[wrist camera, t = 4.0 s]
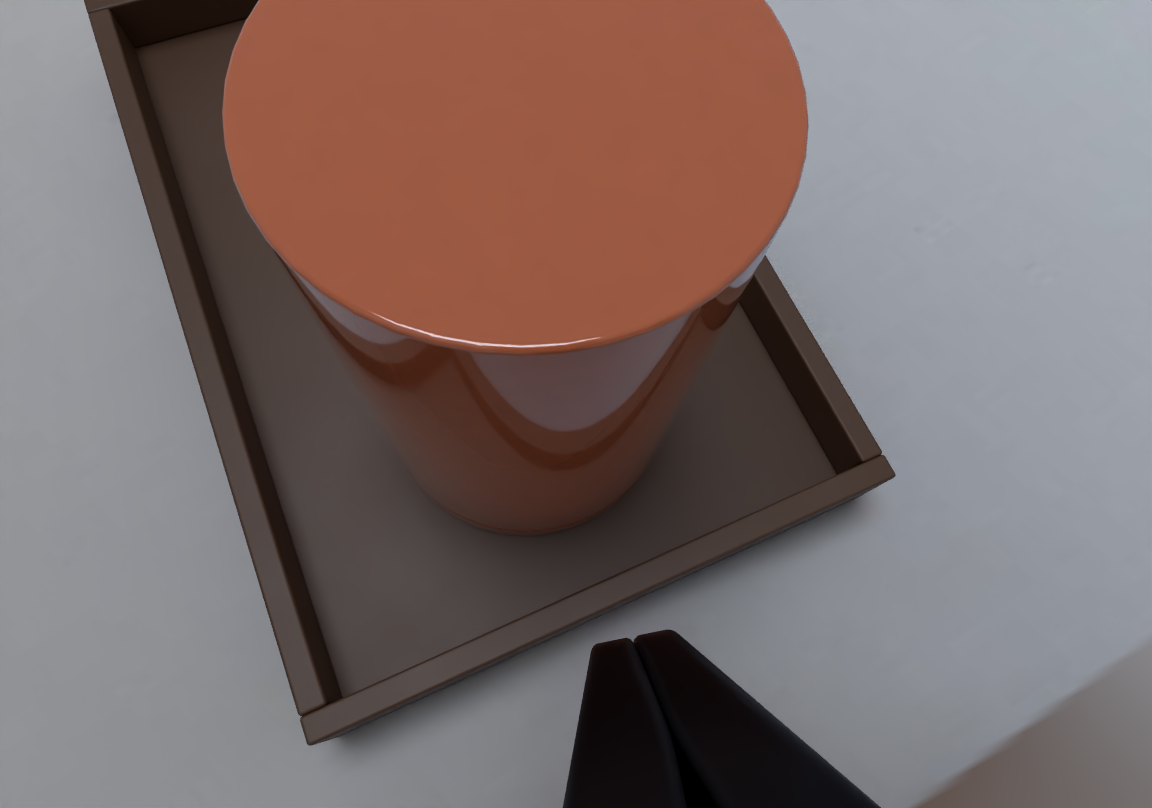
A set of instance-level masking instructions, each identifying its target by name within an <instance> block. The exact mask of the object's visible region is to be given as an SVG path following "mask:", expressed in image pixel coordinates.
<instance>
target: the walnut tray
mask: <svg viewBox="0 0 1152 808" xmlns="http://www.w3.org/2000/svg"><path fill="white" fill-rule="evenodd" d="M84 2H85V6H86V9H87V12H88V14H89V19H90V22H91V26H92V29H93V32H94V36H95V39H96V42H97V46H98V49H99V52H100V56H101V59H102V62H103V66H104V69H105V72H106V76H107V79H108V82H109V86H110V89H111V92H112V96H113V99H114V102H115V106H116V109H117V112H118V116H119V119H120V122H121V126H122V129H123V132H124V136H125V139H126V142H127V146H128V149H129V152H130V155H131V159H132V162H133V165H134V169H135V172H136V175H137V179H138V182H139V185H140V189H141V192H142V195H143V199H144V202H145V205H146V209H147V212H148V215H149V219H150V222H151V225H152V229H153V232H154V235H155V239H156V242H157V245H158V249H159V252H160V255H161V259H162V262H163V265H164V269H165V272H166V275H167V279H168V282H169V285H170V289H171V292H172V295H173V299H174V302H175V305H176V309H177V312H178V315H179V319H180V322H181V325H182V329H183V332H184V335H185V339H186V342H187V345H188V349H189V352H190V355H191V359H192V362H193V365H194V369H195V372H196V375H197V378H198V382H199V385H200V388H201V392H202V395H203V398H204V402H205V405H206V408H207V412H208V415H209V418H210V422H211V425H212V428H213V432H214V435H215V438H216V442H217V445H218V448H219V452H220V455H221V458H222V462H223V465H224V468H225V472H226V475H227V478H228V482H229V485H230V488H231V492H232V495H233V498H234V502H235V505H236V508H237V512H238V515H239V518H240V522H241V525H242V528H243V532H244V535H245V538H246V542H247V545H248V548H249V552H250V555H251V558H252V562H253V565H254V568H255V572H256V575H257V578H258V582H259V585H260V588H261V592H262V595H263V598H264V601H265V605H266V608H267V611H268V615H269V618H270V621H271V625H272V628H273V631H274V635H275V638H276V641H277V645H278V648H279V651H280V655H281V658H282V661H283V665H284V668H285V671H286V675H287V678H288V681H289V685H290V688H291V691H292V695H293V698H294V701H295V705H296V708H297V711H298V714H299V715H300V716H302V717H301V719H300V721H301V725H302V728H303V731H304V735H305V738H306V741H307V744H308V745H314V744H317V743H321V742H324V741H327V740H330V739H333V738H336V737H339V736H341V735H343V734H345V733H347V732H350V731H352V730H354V729H356V728H358V727H360V726H363V725H365V724H367V723H369V722H371V721H373V720H376V719H378V718H380V717H382V716H384V715H387V714H389V713H391V712H393V711H395V710H397V709H400V708H402V707H404V706H406V705H408V704H410V703H413V702H415V701H417V700H419V699H421V698H423V697H426V696H428V695H430V694H432V693H434V692H436V691H439V690H441V689H443V688H445V687H447V686H449V685H452V684H454V683H456V682H458V681H460V680H462V679H465V678H467V677H469V676H471V675H473V674H475V673H478V672H480V671H482V670H484V669H486V668H488V667H491V666H493V665H495V664H497V663H499V662H501V661H504V660H506V659H508V658H510V657H512V656H514V655H517V654H519V653H521V652H523V651H525V650H528V649H530V648H532V647H534V646H536V645H538V644H541V643H543V642H545V641H547V640H549V639H551V638H554V637H556V636H558V635H560V634H562V633H564V632H567V631H569V630H571V629H573V628H575V627H577V626H580V625H582V624H584V623H586V622H588V621H590V620H593V619H595V618H597V617H599V616H601V615H603V614H606V613H608V612H610V611H612V610H614V609H616V608H619V607H621V606H623V605H625V604H627V603H629V602H632V601H634V600H636V599H638V598H640V597H642V596H645V595H647V594H649V593H651V592H653V591H655V590H658V589H660V588H662V587H664V586H666V585H669V584H671V583H673V582H675V581H677V580H679V579H682V578H684V577H686V576H688V575H690V574H692V573H695V572H697V571H699V570H701V569H703V568H705V567H708V566H710V565H712V564H714V563H716V562H718V561H721V560H723V559H725V558H727V557H729V556H731V555H734V554H736V553H738V552H740V551H742V550H744V549H747V548H749V547H751V546H753V545H755V544H757V543H760V542H762V541H764V540H766V539H768V538H770V537H773V536H775V535H777V534H779V533H781V532H783V531H786V530H788V529H790V528H792V527H794V526H796V525H799V524H801V523H803V522H805V521H807V520H810V519H812V518H814V517H816V516H818V515H820V514H823V513H825V512H827V511H829V510H831V509H833V508H836V507H838V506H840V505H842V504H844V503H846V502H849V501H851V500H853V499H855V498H857V497H859V496H861V495H863V494H864V493H866V492H868V491H870V490H872V489H874V488H875V487H877V486H879V485H881V484H883V483H885V482H887V481H888V480H890V479H892V478H894V477H895V473H894V471H893V469H892V468H891V466H890V464H889V463H888V461H887V459H886V457H885V456H884V455H881V454H882V451H881V449H880V447H879V446H878V444H877V442H876V441H875V439H874V437H873V436H872V434H871V432H870V431H869V429H868V427H867V426H866V424H865V422H864V421H863V419H862V417H861V415H860V414H859V412H858V410H857V409H856V407H855V405H854V404H853V402H852V400H851V399H850V397H849V395H848V394H847V392H846V390H845V389H844V387H843V385H842V384H841V382H840V380H839V378H838V377H837V375H836V373H835V372H834V370H833V368H832V367H831V365H830V363H829V362H828V360H827V358H826V357H825V355H824V353H823V352H822V350H821V348H820V346H819V345H818V343H817V341H816V340H815V338H814V336H813V335H812V333H811V331H810V330H809V328H808V326H807V325H806V323H805V321H804V320H803V318H802V316H801V314H800V313H799V311H798V309H797V308H796V306H795V304H794V303H793V301H792V299H791V298H790V296H789V294H788V293H787V291H786V289H785V288H784V286H783V284H782V282H781V281H780V279H779V277H778V276H777V274H776V272H775V271H774V269H773V267H772V266H771V264H770V262H769V261H768V259H767V257H766V256H765V255H764V257H763V259H762V261H761V263H760V264H759V266H758V268H757V270H756V272H755V274H754V275H753V277H752V279H751V281H750V283H749V284H748V286H747V288H746V290H745V292H744V293H743V295H742V297H741V299H740V301H739V302H738V304H737V306H736V308H735V310H734V311H733V313H732V315H731V317H730V319H729V320H728V322H727V324H726V326H725V328H724V329H723V331H722V333H721V335H720V337H719V338H718V340H717V342H716V344H715V346H714V347H713V349H712V351H711V353H710V355H709V356H708V358H707V360H706V362H705V364H704V365H703V367H702V369H701V371H700V373H699V374H698V376H697V378H696V380H695V382H694V383H693V385H692V387H691V389H690V391H689V392H688V394H687V396H686V398H685V400H684V401H683V403H682V405H681V407H680V409H679V410H678V412H677V414H676V416H675V418H674V420H673V421H672V423H671V425H670V427H669V429H668V430H667V432H666V434H665V436H664V438H663V439H662V441H661V443H660V445H659V447H658V448H657V450H656V452H655V454H654V456H653V457H652V459H651V461H650V463H649V465H648V466H647V468H646V469H645V471H644V473H643V474H642V476H641V477H640V479H639V480H638V482H637V483H636V484H635V485H634V486H633V488H632V489H631V490H630V491H629V493H628V494H627V495H625V496H624V497H623V498H622V499H621V500H620V501H619V502H618V503H617V504H616V505H615V506H613V507H612V508H610V509H609V510H607V511H606V512H605V513H603V514H602V515H600V516H599V517H597V518H595V519H593V520H591V521H589V522H587V523H585V524H583V525H580V526H577V527H575V528H572V529H569V530H566V531H562V532H557V533H553V534H548V535H538V536H512V535H504V534H499V533H493V532H489V531H486V530H483V529H480V528H477V527H474V526H471V525H469V524H467V523H465V522H463V521H461V520H459V519H456V518H455V517H453V516H452V515H450V514H449V513H447V512H446V511H444V510H442V509H441V508H440V507H438V506H437V505H436V504H435V503H434V502H433V501H432V500H430V499H429V498H428V497H427V496H426V495H425V494H424V493H423V492H422V490H421V489H420V488H419V487H418V486H417V485H416V483H415V482H414V481H413V479H412V478H411V476H410V475H409V473H408V472H407V470H406V468H405V467H404V465H403V464H402V462H401V460H400V459H399V457H398V455H397V454H396V452H395V451H394V449H393V447H392V446H391V444H390V443H389V441H388V439H387V438H386V436H385V434H384V433H383V431H382V430H381V428H380V426H379V425H378V423H377V421H376V420H375V418H374V417H373V415H372V413H371V412H370V410H369V408H368V407H367V405H366V404H365V402H364V400H363V399H362V397H361V395H360V394H359V392H358V391H357V389H356V387H355V386H354V384H353V382H352V381H351V379H350V378H349V376H348V374H347V373H346V371H345V369H344V368H343V366H342V365H341V363H340V361H339V360H338V358H337V356H336V355H335V353H334V352H333V350H332V348H331V347H330V345H329V344H328V342H327V340H326V339H325V337H324V335H323V334H322V332H321V331H320V329H319V327H318V326H317V324H316V322H315V321H314V319H313V318H312V316H311V314H310V313H309V311H308V309H307V308H306V306H305V305H304V303H303V301H302V300H301V298H300V296H299V295H298V293H297V292H296V290H295V288H294V287H293V285H292V283H291V282H290V280H289V279H288V277H287V275H286V274H285V272H284V270H283V269H282V267H281V266H280V264H279V262H278V261H277V259H276V258H275V256H274V254H273V253H272V251H271V249H270V248H269V246H268V245H267V243H266V241H265V240H264V238H263V236H262V235H261V233H260V232H259V230H258V228H257V227H256V225H255V223H254V222H253V220H252V219H251V217H250V215H249V214H248V212H247V210H246V208H245V206H244V203H243V201H242V199H241V197H240V194H239V192H238V190H237V188H236V185H235V183H234V181H233V178H232V174H231V170H230V166H229V162H228V158H227V155H226V151H225V145H224V133H223V121H222V109H223V97H224V86H225V78H226V74H227V71H228V67H229V63H230V59H231V55H232V51H233V48H234V46H235V44H236V42H237V39H238V37H239V35H240V32H241V30H242V28H243V25H244V23H245V21H246V20H247V18H248V16H249V15H250V13H251V12H252V10H253V8H254V7H255V5H256V4H257V2H258V0H84Z"/></svg>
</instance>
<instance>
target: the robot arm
mask: <svg viewBox="0 0 1152 808" xmlns="http://www.w3.org/2000/svg"><path fill="white" fill-rule="evenodd" d="M563 808H881V807H880V806H878V805H877V804H876V803H875V802H874V801H873V800H871V799H870V798H869V797H868V796H867V795H866V794H864V793H863V792H862V791H861V790H860V789H859V788H857V787H856V786H855V785H854V784H853V783H852V782H850V781H849V780H848V779H847V778H846V777H845V776H843V775H842V774H841V773H840V772H839V771H838V770H836V769H835V768H834V767H833V766H832V765H831V764H829V763H828V762H827V761H826V760H825V759H824V758H822V757H821V756H820V755H819V754H818V753H817V752H815V751H814V750H813V749H812V748H811V747H810V746H808V745H807V744H806V743H805V742H804V741H803V740H801V739H800V738H799V737H798V736H797V735H796V734H794V733H793V732H792V731H791V730H790V729H789V728H787V727H786V726H785V725H784V724H783V723H782V722H780V721H779V720H778V719H777V718H776V717H775V716H773V715H772V714H771V713H770V712H769V711H768V710H766V709H765V708H764V707H763V706H762V705H761V704H759V703H758V702H757V701H756V700H755V699H754V698H752V697H751V696H750V695H749V694H748V693H747V692H745V691H744V690H743V689H742V688H741V687H740V686H738V685H737V684H736V683H735V682H734V681H733V680H731V679H730V678H729V677H728V676H727V675H726V674H724V673H723V672H722V671H721V670H720V669H719V668H718V667H716V666H715V665H714V664H713V663H712V662H711V661H709V660H708V659H707V658H706V657H705V656H704V655H702V654H701V653H700V652H699V651H698V650H697V649H695V648H694V647H693V646H692V645H691V644H690V643H688V642H687V641H686V640H685V639H684V638H683V637H681V636H680V635H679V634H678V633H676V632H675V631H672V630H663V631H658V632H653V633H648V634H643V635H639V636H637V637H636V638H635V639H634V642H632V640H631V639H628V638H623V639H618V640H613V641H608V642H603V643H598V644H596V645H594V646H593V648H592V650H591V654H590V660H589V665H588V671H587V676H586V682H585V688H584V693H583V699H582V704H581V710H580V715H579V721H578V726H577V732H576V738H575V743H574V749H573V754H572V760H571V765H570V771H569V776H568V782H567V787H566V793H565V799H564V804H563Z"/></svg>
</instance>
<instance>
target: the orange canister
mask: <svg viewBox="0 0 1152 808" xmlns="http://www.w3.org/2000/svg"><path fill="white" fill-rule="evenodd" d="M222 121H223V133H224V145H225V151H226V155H227V158H228V162H229V166H230V170H231V174H232V178H233V181H234V183H235V185H236V188H237V190H238V192H239V194H240V197H241V199H242V201H243V203H244V206H245V208H246V210H247V212H248V214H249V215H250V217H251V219H252V220H253V222H254V223H255V225H256V227H257V228H258V230H259V232H260V233H261V235H262V236H263V238H264V240H265V241H266V243H267V245H268V246H269V248H270V249H271V251H272V253H273V254H274V256H275V258H276V259H277V261H278V262H279V264H280V266H281V267H282V269H283V270H284V272H285V274H286V275H287V277H288V279H289V280H290V282H291V283H292V285H293V287H294V288H295V290H296V292H297V293H298V295H299V296H300V298H301V300H302V301H303V303H304V305H305V306H306V308H307V309H308V311H309V313H310V314H311V316H312V318H313V319H314V321H315V322H316V324H317V326H318V327H319V329H320V331H321V332H322V334H323V335H324V337H325V339H326V340H327V342H328V344H329V345H330V347H331V348H332V350H333V352H334V353H335V355H336V356H337V358H338V360H339V361H340V363H341V365H342V366H343V368H344V369H345V371H346V373H347V374H348V376H349V378H350V379H351V381H352V382H353V384H354V386H355V387H356V389H357V391H358V392H359V394H360V395H361V397H362V399H363V400H364V402H365V404H366V405H367V407H368V408H369V410H370V412H371V413H372V415H373V417H374V418H375V420H376V421H377V423H378V425H379V426H380V428H381V430H382V431H383V433H384V434H385V436H386V438H387V439H388V441H389V443H390V444H391V446H392V447H393V449H394V451H395V452H396V454H397V455H398V457H399V459H400V460H401V462H402V464H403V465H404V467H405V468H406V470H407V472H408V473H409V475H410V476H411V478H412V479H413V481H414V482H415V483H416V485H417V486H418V487H419V488H420V489H421V490H422V492H423V493H424V494H425V495H426V496H427V497H428V498H429V499H430V500H432V501H433V502H434V503H435V504H436V505H437V506H438V507H440V508H441V509H442V510H444V511H446V512H447V513H449V514H450V515H452V516H453V517H455V518H456V519H459V520H461V521H463V522H465V523H467V524H469V525H471V526H474V527H477V528H480V529H483V530H486V531H489V532H493V533H499V534H504V535H512V536H538V535H548V534H553V533H557V532H562V531H566V530H569V529H572V528H575V527H577V526H580V525H583V524H585V523H587V522H589V521H591V520H593V519H595V518H597V517H599V516H600V515H602V514H603V513H605V512H606V511H607V510H609V509H610V508H612V507H613V506H615V505H616V504H617V503H618V502H619V501H620V500H621V499H622V498H623V497H624V496H625V495H627V494H628V493H629V491H630V490H631V489H632V488H633V486H634V485H635V484H636V483H637V482H638V480H639V479H640V477H641V476H642V474H643V473H644V471H645V469H646V468H647V466H648V465H649V463H650V461H651V459H652V457H653V456H654V454H655V452H656V450H657V448H658V447H659V445H660V443H661V441H662V439H663V438H664V436H665V434H666V432H667V430H668V429H669V427H670V425H671V423H672V421H673V420H674V418H675V416H676V414H677V412H678V410H679V409H680V407H681V405H682V403H683V401H684V400H685V398H686V396H687V394H688V392H689V391H690V389H691V387H692V385H693V383H694V382H695V380H696V378H697V376H698V374H699V373H700V371H701V369H702V367H703V365H704V364H705V362H706V360H707V358H708V356H709V355H710V353H711V351H712V349H713V347H714V346H715V344H716V342H717V340H718V338H719V337H720V335H721V333H722V331H723V329H724V328H725V326H726V324H727V322H728V320H729V319H730V317H731V315H732V313H733V311H734V310H735V308H736V306H737V304H738V302H739V301H740V299H741V297H742V295H743V293H744V292H745V290H746V288H747V286H748V284H749V283H750V281H751V279H752V277H753V275H754V274H755V272H756V270H757V268H758V266H759V264H760V263H761V261H762V259H763V257H764V255H765V254H766V252H767V250H768V248H769V246H770V245H771V243H772V241H773V239H774V237H775V236H776V234H777V232H778V230H779V228H780V227H781V225H782V223H783V221H784V219H785V218H786V216H787V213H788V211H789V209H790V206H791V204H792V202H793V199H794V197H795V194H796V192H797V190H798V187H799V184H800V180H801V176H802V171H803V167H804V163H805V159H806V152H807V139H808V114H807V102H806V92H805V88H804V84H803V79H802V75H801V71H800V67H799V63H798V61H797V58H796V56H795V53H794V51H793V49H792V46H791V44H790V41H789V39H788V36H787V34H786V33H785V31H784V29H783V28H782V26H781V24H780V22H779V21H778V19H777V17H776V16H775V14H774V12H773V11H772V9H771V8H770V6H769V5H768V4H767V3H766V1H765V0H258V2H257V4H256V5H255V7H254V8H253V10H252V12H251V13H250V15H249V16H248V18H247V20H246V21H245V23H244V25H243V28H242V30H241V32H240V35H239V37H238V39H237V42H236V44H235V46H234V48H233V51H232V55H231V59H230V63H229V67H228V71H227V74H226V78H225V86H224V97H223V109H222Z"/></svg>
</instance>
